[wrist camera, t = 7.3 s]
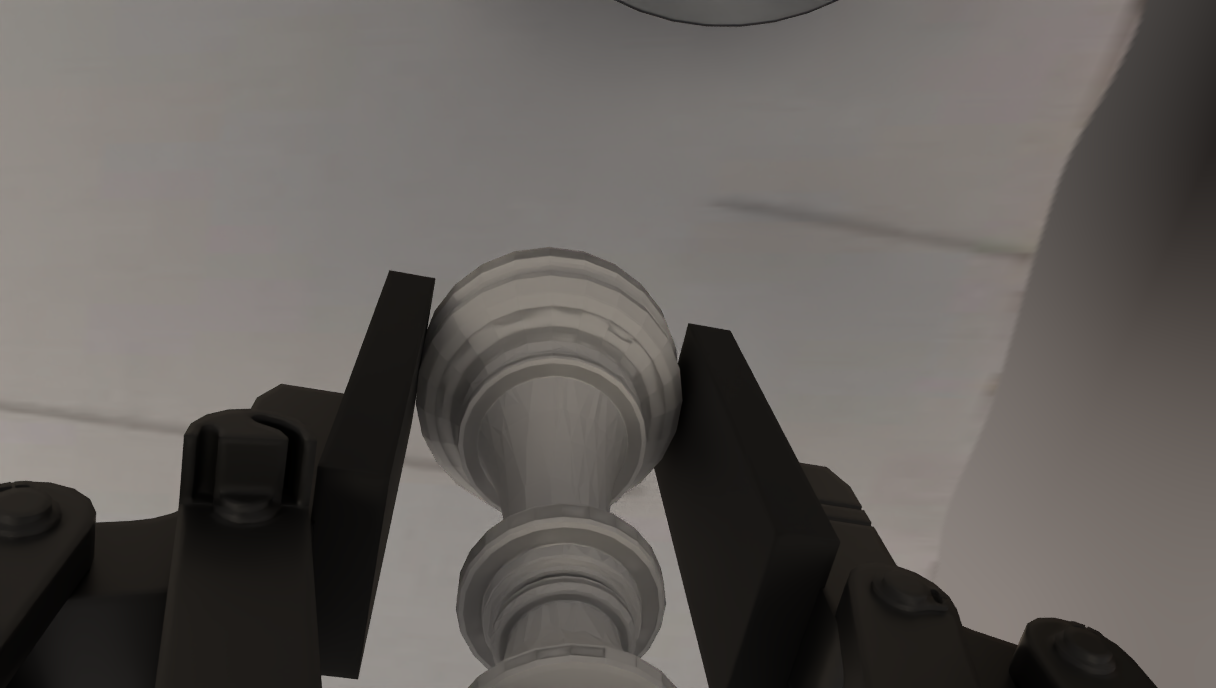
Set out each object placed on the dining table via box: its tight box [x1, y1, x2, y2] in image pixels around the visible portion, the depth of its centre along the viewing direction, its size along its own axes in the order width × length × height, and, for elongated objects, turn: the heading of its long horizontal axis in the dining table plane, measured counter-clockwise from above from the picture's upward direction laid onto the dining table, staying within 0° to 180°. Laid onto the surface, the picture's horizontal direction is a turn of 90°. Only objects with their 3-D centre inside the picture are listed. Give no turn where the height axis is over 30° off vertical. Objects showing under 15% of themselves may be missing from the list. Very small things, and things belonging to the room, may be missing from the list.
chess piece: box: [416, 247, 683, 688], centre depth 13 cm, size 4×4×10 cm
